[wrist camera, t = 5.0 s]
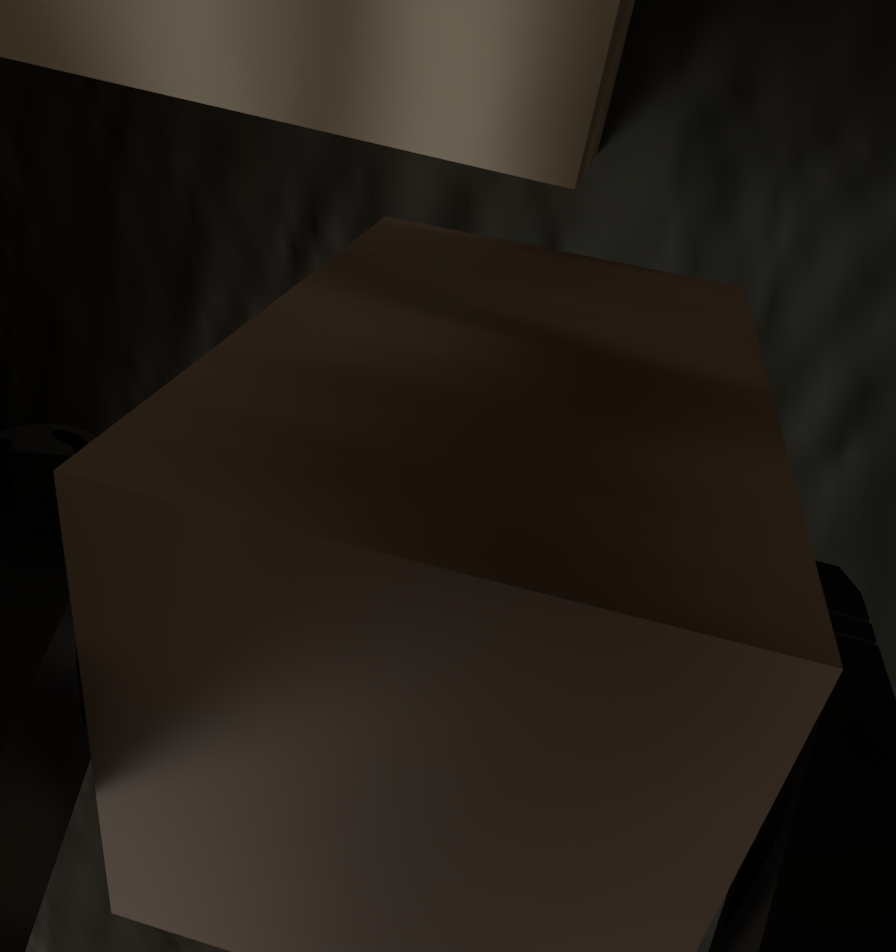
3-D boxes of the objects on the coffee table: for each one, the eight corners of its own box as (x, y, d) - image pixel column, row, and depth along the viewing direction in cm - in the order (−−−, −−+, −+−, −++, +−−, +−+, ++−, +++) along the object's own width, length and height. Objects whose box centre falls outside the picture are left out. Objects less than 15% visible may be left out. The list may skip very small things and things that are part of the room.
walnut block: (358, 508, 17) (111, 913, 10) (385, 216, 14) (53, 470, 6) (647, 579, 16) (629, 1079, 9) (744, 287, 13) (843, 669, 6)
